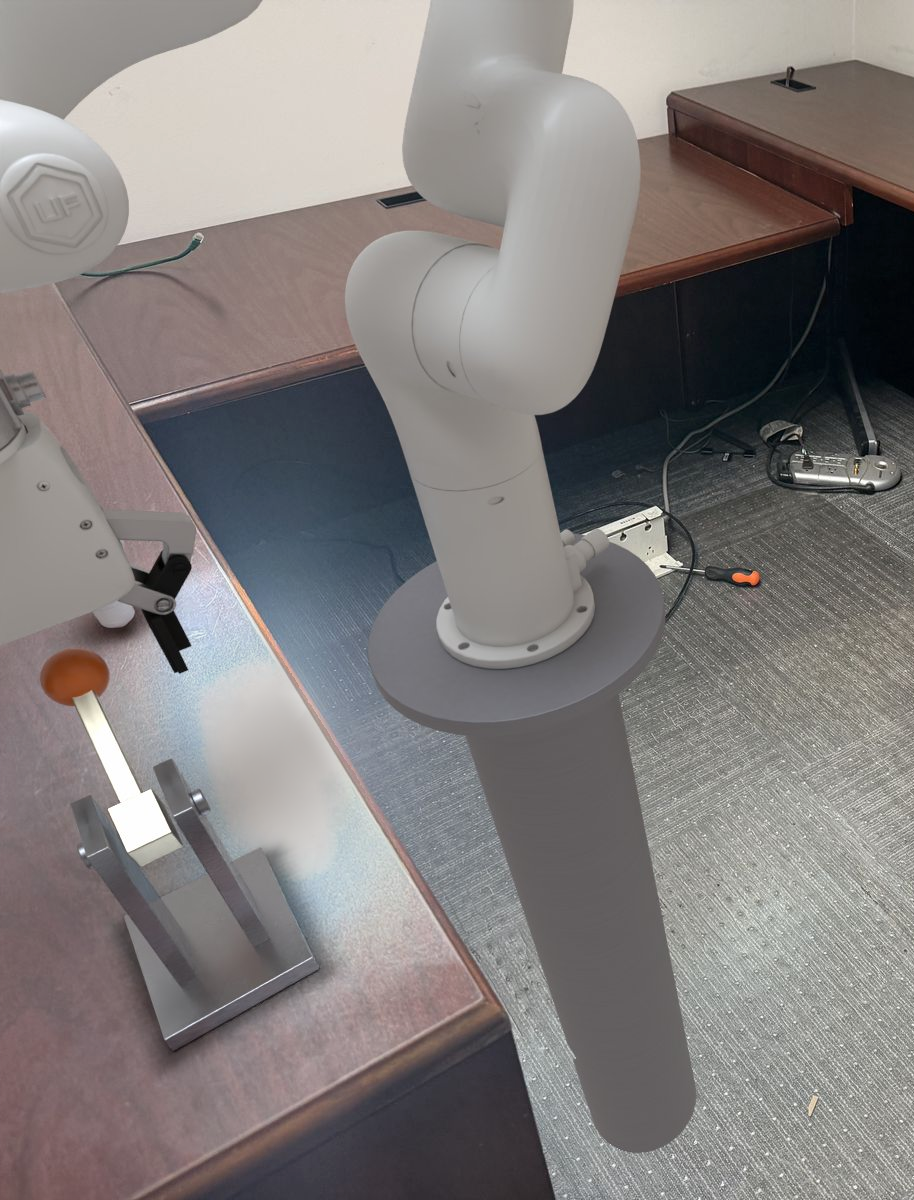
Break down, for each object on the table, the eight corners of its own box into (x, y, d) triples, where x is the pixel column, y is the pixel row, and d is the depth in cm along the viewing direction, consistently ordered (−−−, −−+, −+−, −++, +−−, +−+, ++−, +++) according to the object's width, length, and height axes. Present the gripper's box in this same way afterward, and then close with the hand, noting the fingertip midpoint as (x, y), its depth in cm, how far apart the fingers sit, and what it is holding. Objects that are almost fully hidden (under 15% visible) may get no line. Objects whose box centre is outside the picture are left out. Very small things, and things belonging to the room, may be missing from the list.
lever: (43, 679, 61) (21, 653, 58) (105, 654, 63) (86, 628, 60) (132, 875, 57) (113, 856, 55) (195, 843, 59) (180, 824, 56)
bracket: (131, 927, 65) (28, 785, 57) (267, 858, 69) (187, 715, 61) (173, 1052, 59) (63, 912, 51) (319, 969, 63) (239, 826, 55)
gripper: (106, 345, 56) (227, 602, 67) (-315, 461, 49) (-102, 731, 59) (139, 399, 52) (263, 665, 62) (-321, 537, 44) (-88, 815, 55)
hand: (85, 697), depth 61 cm, fingers open, 9 cm apart
